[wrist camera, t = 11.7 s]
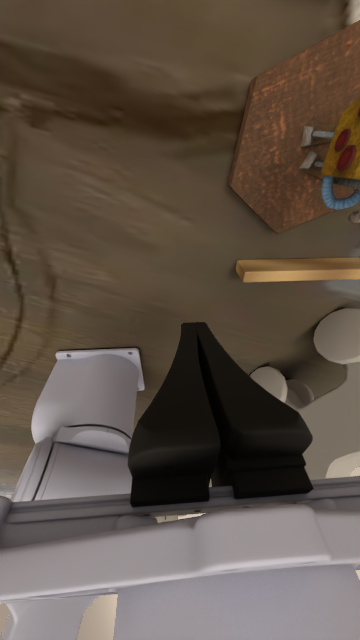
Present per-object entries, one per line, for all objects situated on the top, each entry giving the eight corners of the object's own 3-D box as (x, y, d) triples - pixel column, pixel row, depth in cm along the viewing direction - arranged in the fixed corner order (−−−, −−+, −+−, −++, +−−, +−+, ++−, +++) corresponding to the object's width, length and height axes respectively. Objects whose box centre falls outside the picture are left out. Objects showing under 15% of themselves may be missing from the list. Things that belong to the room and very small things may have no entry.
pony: (262, 406, 37) (319, 554, 23) (215, 388, 32) (251, 555, 19) (386, 328, 27) (601, 504, 14) (340, 288, 23) (584, 485, 10)
